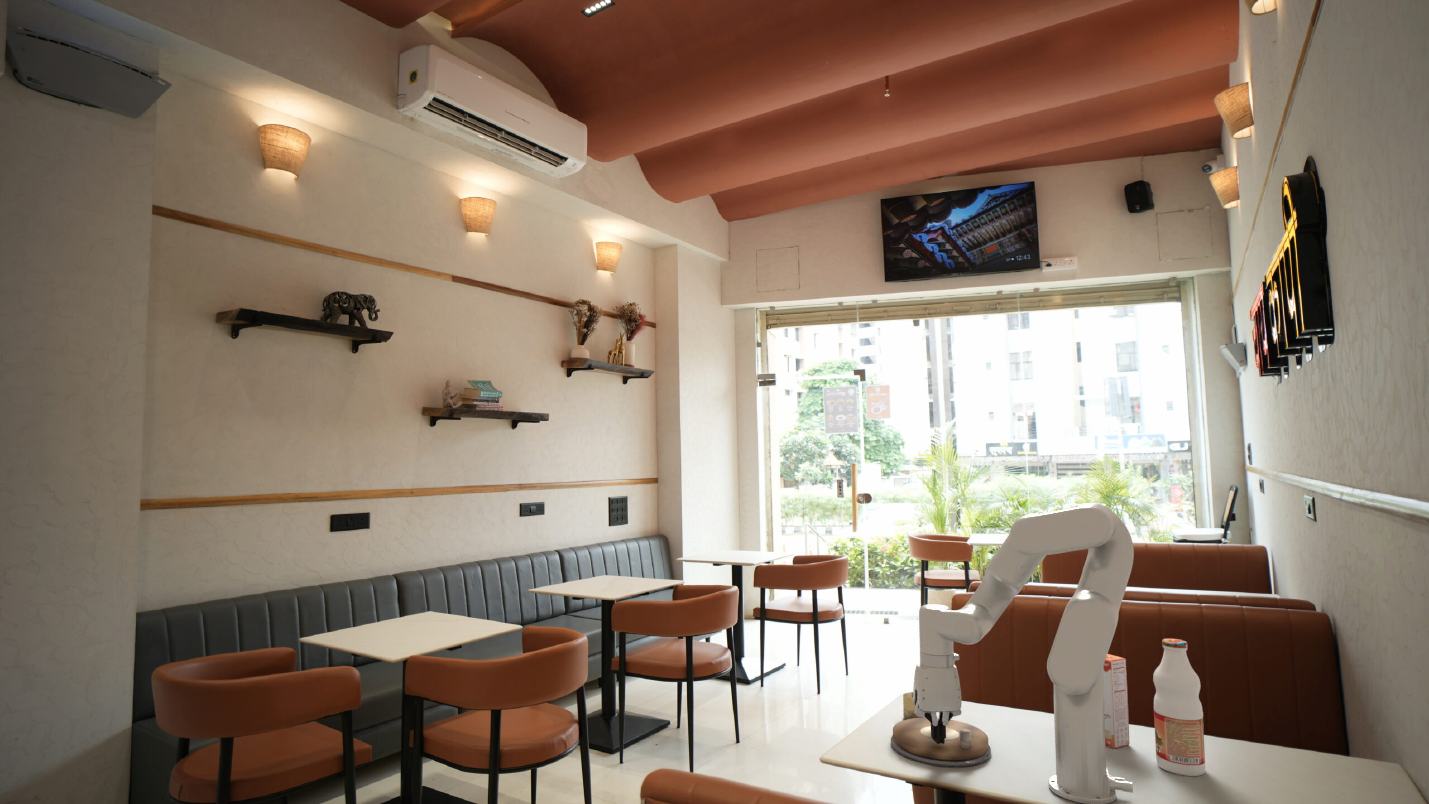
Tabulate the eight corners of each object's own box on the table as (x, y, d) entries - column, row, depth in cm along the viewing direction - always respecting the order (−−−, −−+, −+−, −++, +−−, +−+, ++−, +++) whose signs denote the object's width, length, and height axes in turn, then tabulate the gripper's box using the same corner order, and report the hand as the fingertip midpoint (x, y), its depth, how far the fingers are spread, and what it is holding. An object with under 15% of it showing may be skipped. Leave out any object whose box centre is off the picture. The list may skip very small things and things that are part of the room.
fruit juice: (1188, 780, 161) (1181, 647, 163) (1146, 763, 169) (1141, 638, 171) (1215, 772, 165) (1208, 643, 167) (1173, 756, 173) (1167, 634, 175)
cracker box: (1064, 730, 190) (1061, 646, 192) (1080, 726, 193) (1077, 644, 194) (1113, 749, 178) (1110, 660, 179) (1130, 745, 180) (1126, 657, 182)
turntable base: (993, 738, 185) (993, 734, 185) (987, 774, 164) (987, 769, 164) (899, 725, 194) (899, 721, 194) (882, 757, 173) (882, 753, 173)
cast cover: (932, 716, 200) (932, 691, 201) (928, 725, 194) (928, 699, 194) (906, 713, 203) (905, 687, 204) (901, 721, 197) (900, 695, 197)
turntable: (991, 732, 185) (990, 709, 185) (985, 766, 165) (984, 740, 165) (901, 720, 193) (900, 698, 194) (885, 751, 173) (884, 726, 174)
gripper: (961, 654, 176) (963, 734, 175) (899, 656, 175) (901, 736, 174) (975, 663, 169) (977, 746, 167) (910, 664, 168) (912, 748, 166)
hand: (938, 741), depth 171 cm, fingers closed
